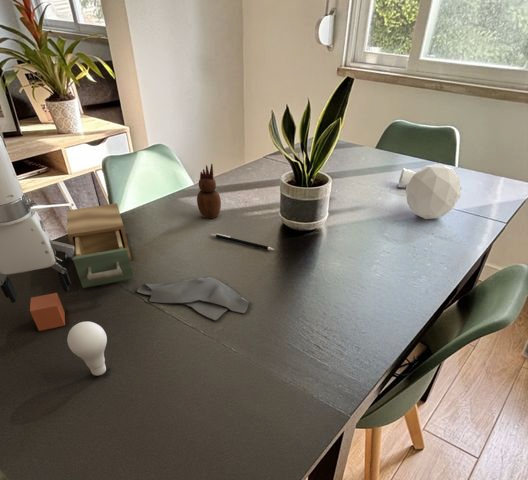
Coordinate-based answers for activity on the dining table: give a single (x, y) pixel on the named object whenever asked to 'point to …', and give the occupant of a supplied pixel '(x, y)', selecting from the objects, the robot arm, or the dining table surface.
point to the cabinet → (95, 222)
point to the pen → (241, 241)
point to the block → (47, 311)
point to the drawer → (101, 259)
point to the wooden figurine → (208, 195)
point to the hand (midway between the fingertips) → (41, 293)
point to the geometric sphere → (433, 191)
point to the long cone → (405, 177)
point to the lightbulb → (89, 345)
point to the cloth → (197, 296)
